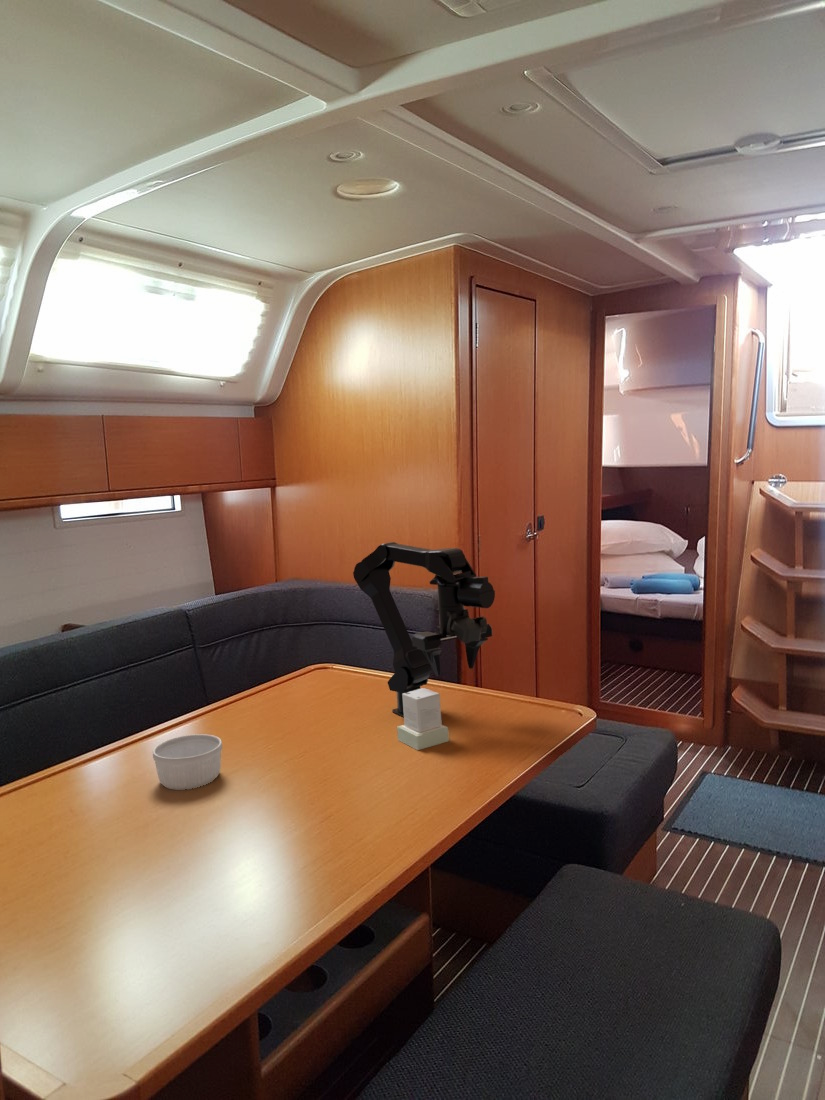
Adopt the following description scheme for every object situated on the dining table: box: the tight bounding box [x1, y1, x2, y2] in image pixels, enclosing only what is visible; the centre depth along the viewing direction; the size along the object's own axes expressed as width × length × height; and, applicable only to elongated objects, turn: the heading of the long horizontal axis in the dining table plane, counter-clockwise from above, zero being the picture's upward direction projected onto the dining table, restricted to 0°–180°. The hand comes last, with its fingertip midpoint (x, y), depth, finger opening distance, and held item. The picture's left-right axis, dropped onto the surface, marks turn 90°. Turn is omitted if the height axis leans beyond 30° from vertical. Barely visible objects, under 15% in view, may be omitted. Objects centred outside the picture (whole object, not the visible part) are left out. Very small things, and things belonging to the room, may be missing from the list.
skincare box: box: [402, 687, 443, 732], centre depth 165 cm, size 6×6×7 cm
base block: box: [396, 724, 450, 751], centre depth 165 cm, size 8×8×3 cm
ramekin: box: [152, 733, 223, 791], centre depth 151 cm, size 13×13×7 cm
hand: (454, 672), depth 174 cm, fingers open, 9 cm apart
